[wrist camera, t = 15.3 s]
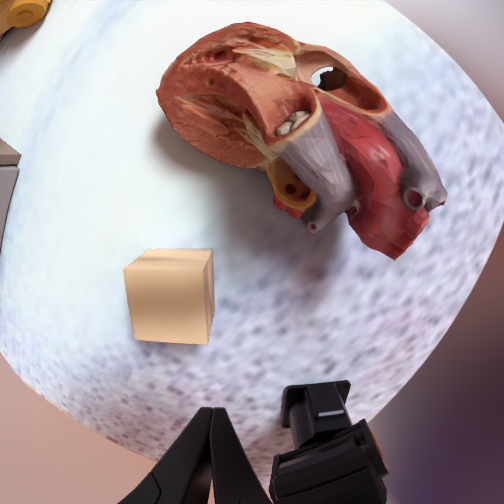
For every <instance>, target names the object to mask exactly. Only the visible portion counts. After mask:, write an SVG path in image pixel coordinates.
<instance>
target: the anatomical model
mask: <svg viewBox="0 0 504 504" xmlns="http://www.w3.org/2000/svg"><path fill="white" fill-rule="evenodd" d="M324 67H333V71H327V72H323V73H322V74H320V79H321V82H320V84H319V86H317V87H316V86H313V85H312V83H311V77H312V75H313V74H314V73H315V72H316V71H318V70H319V69H321V68H324ZM156 95H157V97H158V103H159V105H160V107H161V108H162V110H163V111H164V113H165V115H166V118H167V119H168V120H169V121H170V122H171V125H172V127H173V129H174V131H176V132H177V133H178V134H179V135H180V136H181V137H182V138H183V139H184V140H185V141H187V142H188V143H190V145H192V146H194V147H196V148H197V149H198V150H200V151H201V152H203V153H205V154H207V155H209V156H210V157H212V158H214V159H216V160H219V161H222V162H225V163H227V164H230V165H233V166H238V167H240V168H257V169H258V170H260V171H265V170H266V172H267V175H268V177H269V179H270V182H271V184H272V187H273V191H274V200H273V203H274V205H275V206H276V207H278V208H280V209H282V210H286V211H287V212H288V213H289V214H290V215H291V216H292V217H294V218H297V219H299V220H301V221H303V225H304V226H305V228H306V229H307V230H308V231H309V233H311V234H317V233H318V232H319V231H320V230H322V229H323V228H324V227H325V226H326V225H327V224H328V223H329V222H330V221H332V220H333V219H334V218H335V217H336V216H338V215H340V214H341V213H343V212H345V213H346V214H347V217H348V221H349V225H350V226H351V227H352V228H353V230H354V231H355V232H356V233H357V235H358V236H359V237H360V239H361V241H362V243H363V244H365V245H366V246H368V247H369V248H371V249H374V250H377V251H380V252H382V253H383V254H385V255H387V256H388V257H390V258H392V259H393V260H394V261H395V260H396V259H397V258H398V257H399V256H401V255H402V254H403V253H404V252H405V251H406V249H407V248H408V247H409V246H410V245H411V244H413V241H414V240H415V239H416V237H417V236H418V235H419V234H420V233H421V232H422V230H423V228H424V227H425V226H426V225H427V223H428V220H429V212H430V211H431V210H433V209H434V208H436V207H438V206H440V205H444V203H445V201H446V197H447V191H446V190H445V188H444V187H443V185H442V183H441V180H440V177H439V174H438V172H437V170H436V168H435V166H434V164H433V162H432V160H431V158H430V157H429V155H428V153H427V152H426V150H425V149H424V147H423V146H422V144H421V142H420V141H419V139H418V138H417V137H416V135H415V134H414V133H413V132H412V131H411V130H410V129H409V128H408V127H407V126H406V125H405V124H404V123H403V122H402V120H401V119H400V118H399V117H398V115H397V114H396V113H395V112H394V110H393V109H392V107H391V106H390V105H389V103H388V102H387V100H386V99H385V98H384V96H383V95H382V94H381V92H380V91H379V90H378V89H377V87H376V86H374V85H373V84H372V83H370V82H369V81H368V80H367V79H366V78H364V77H363V76H362V75H361V74H360V73H359V72H358V71H357V70H356V68H355V67H354V66H353V65H352V64H351V63H350V62H349V61H348V60H347V59H345V58H344V57H342V56H341V55H340V54H338V53H336V52H335V51H333V50H331V49H329V48H327V47H324V46H318V45H311V44H304V43H301V42H298V41H296V40H295V39H293V38H292V37H290V36H288V35H286V34H284V33H282V32H281V31H279V30H277V29H274V28H270V27H267V26H263V25H260V24H256V23H252V22H244V23H235V24H231V25H229V26H227V27H224V28H222V29H220V30H217V31H215V32H212V33H210V34H208V35H206V36H204V37H202V38H201V39H199V40H198V41H197V42H196V43H195V44H193V45H192V46H191V47H189V48H188V49H187V50H185V51H184V52H183V53H181V54H180V55H179V56H178V57H177V58H176V59H175V61H174V62H173V63H172V64H171V65H170V66H169V67H168V69H167V70H166V71H165V73H164V74H163V76H162V79H161V83H160V87H159V89H157V90H156Z"/></svg>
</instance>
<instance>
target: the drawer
mask: <svg viewBox="0 0 504 504" xmlns="http://www.w3.org/2000/svg"><path fill="white" fill-rule="evenodd" d="M18 171H19V169H18V168H17V167H16V166H15V165H8V166H4V165H0V246H1V240H2V234H3V229H4V224H5V219H6V214H7V210H8V206H9V202H10V198H11V194H12V191H13V187H14V184H15V180H16V177H17V174H18Z"/></svg>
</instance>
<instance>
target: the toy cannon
mask: <svg viewBox="0 0 504 504" xmlns="http://www.w3.org/2000/svg"><path fill="white" fill-rule="evenodd" d="M50 1H51V0H0V40H1V39H2V36H3V33H4V32H6V31H7V30H8V29H10V28H11V27H12V26H13V27H28V26H31V25H33V24H35V23H36V22H38V21H40V20H42V19H43V17H44V15H45V13H46V11H47V8H48V4H49V3H50Z"/></svg>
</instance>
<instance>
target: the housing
mask: <svg viewBox="0 0 504 504" xmlns="http://www.w3.org/2000/svg"><path fill="white" fill-rule="evenodd" d="M20 156H21V154H20V153H18V152H17V151H16V150H15V149H13V148H12V147H11V146H9V145H8V144H7V143H6V142H4V141H3V140H2V139H1V138H0V165H5V164H18V162H19V159H20Z"/></svg>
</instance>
